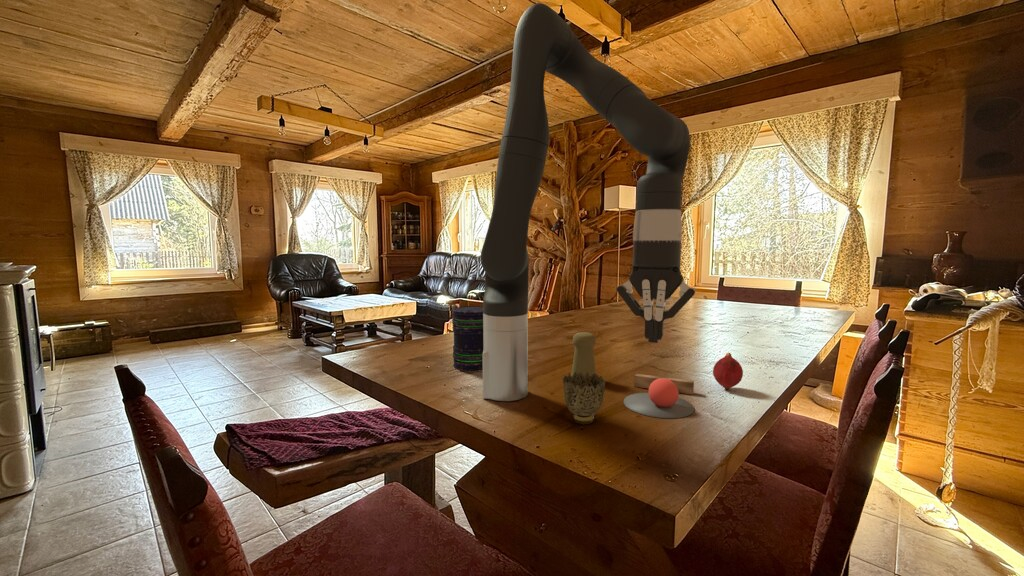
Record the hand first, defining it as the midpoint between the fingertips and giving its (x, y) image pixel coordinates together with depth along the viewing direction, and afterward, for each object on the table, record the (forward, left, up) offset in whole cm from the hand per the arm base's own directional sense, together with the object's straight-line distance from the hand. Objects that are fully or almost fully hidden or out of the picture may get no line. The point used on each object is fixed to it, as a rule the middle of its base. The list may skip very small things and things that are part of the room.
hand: (653, 341), depth 73 cm
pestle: (-7, +26, -15) cm, 31 cm away
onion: (+23, +19, -15) cm, 33 cm away
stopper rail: (+9, +19, -15) cm, 26 cm away
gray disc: (+5, +10, -15) cm, 19 cm away
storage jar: (-34, +37, -15) cm, 53 cm away
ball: (+5, +9, -12) cm, 16 cm away
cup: (-11, +2, -15) cm, 19 cm away
